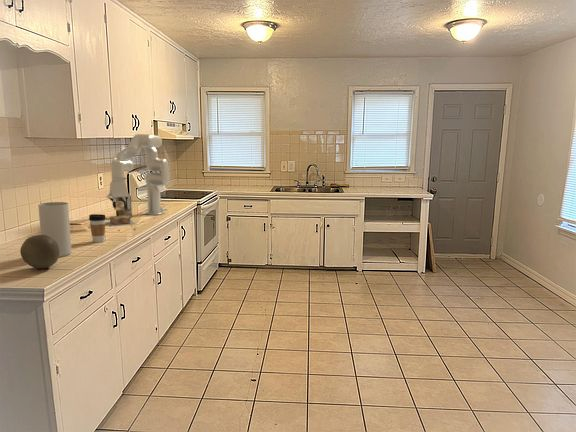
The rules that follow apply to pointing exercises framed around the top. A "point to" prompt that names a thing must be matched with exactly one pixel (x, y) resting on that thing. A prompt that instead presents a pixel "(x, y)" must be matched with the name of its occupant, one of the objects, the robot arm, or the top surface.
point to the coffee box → (127, 208)
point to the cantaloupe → (40, 251)
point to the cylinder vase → (56, 224)
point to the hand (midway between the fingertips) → (119, 207)
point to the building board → (119, 225)
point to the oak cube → (119, 205)
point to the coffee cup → (97, 227)
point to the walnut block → (119, 220)
